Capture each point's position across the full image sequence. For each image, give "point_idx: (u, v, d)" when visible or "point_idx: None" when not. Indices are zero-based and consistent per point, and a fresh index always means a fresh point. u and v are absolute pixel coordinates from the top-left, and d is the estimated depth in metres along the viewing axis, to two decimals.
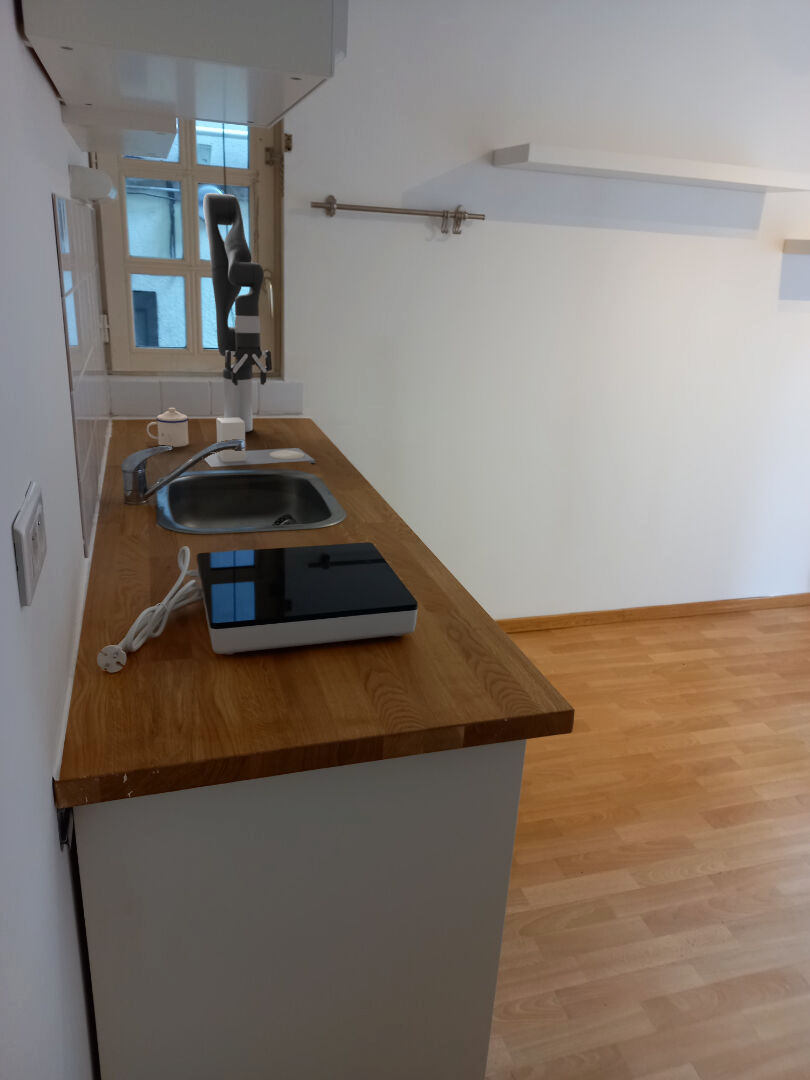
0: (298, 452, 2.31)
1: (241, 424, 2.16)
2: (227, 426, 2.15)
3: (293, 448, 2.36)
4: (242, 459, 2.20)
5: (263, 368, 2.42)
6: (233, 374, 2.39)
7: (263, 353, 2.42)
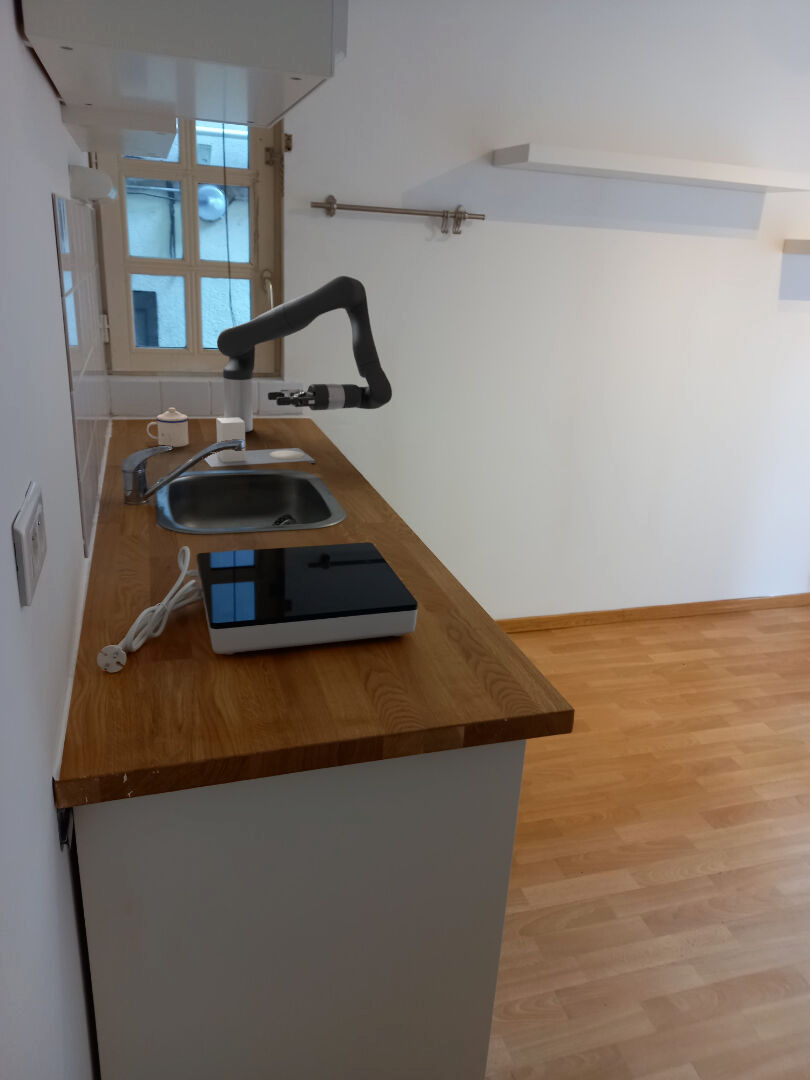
0: (298, 452, 2.31)
1: (241, 424, 2.16)
2: (227, 426, 2.15)
3: (293, 448, 2.36)
4: (242, 459, 2.20)
5: None
6: (289, 403, 2.18)
7: None
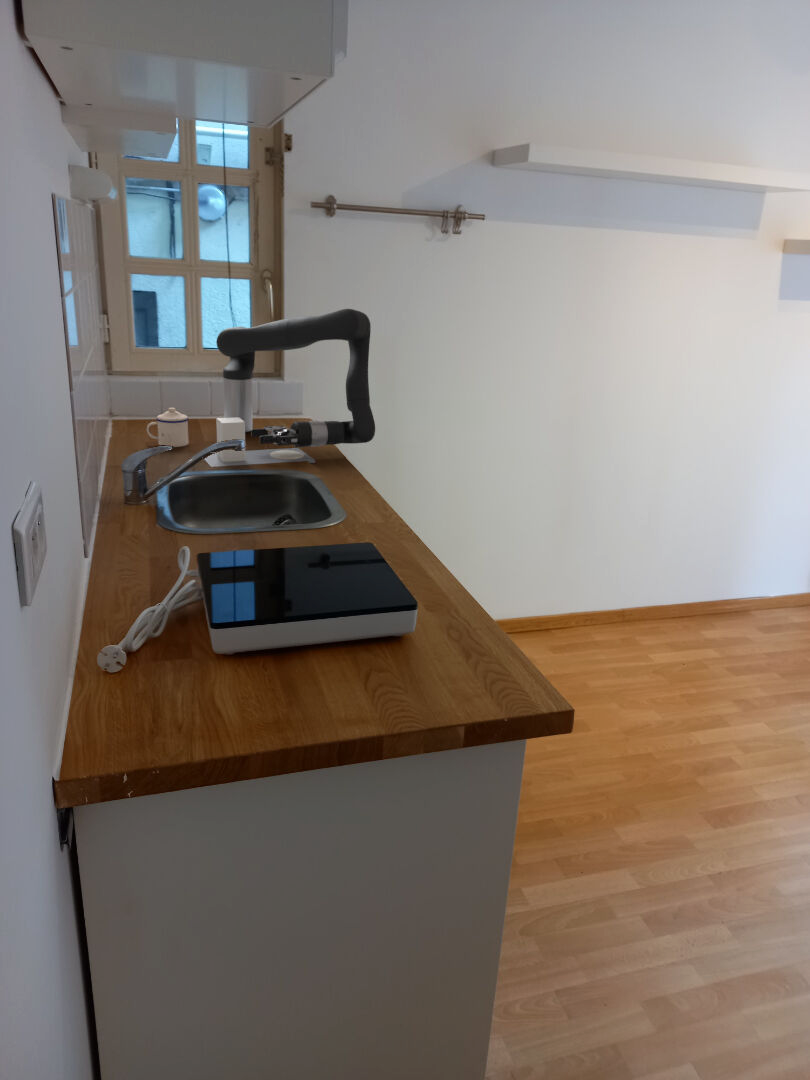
0: (298, 452, 2.31)
1: (241, 424, 2.16)
2: (227, 426, 2.15)
3: (293, 448, 2.36)
4: (242, 459, 2.20)
5: None
6: None
7: None
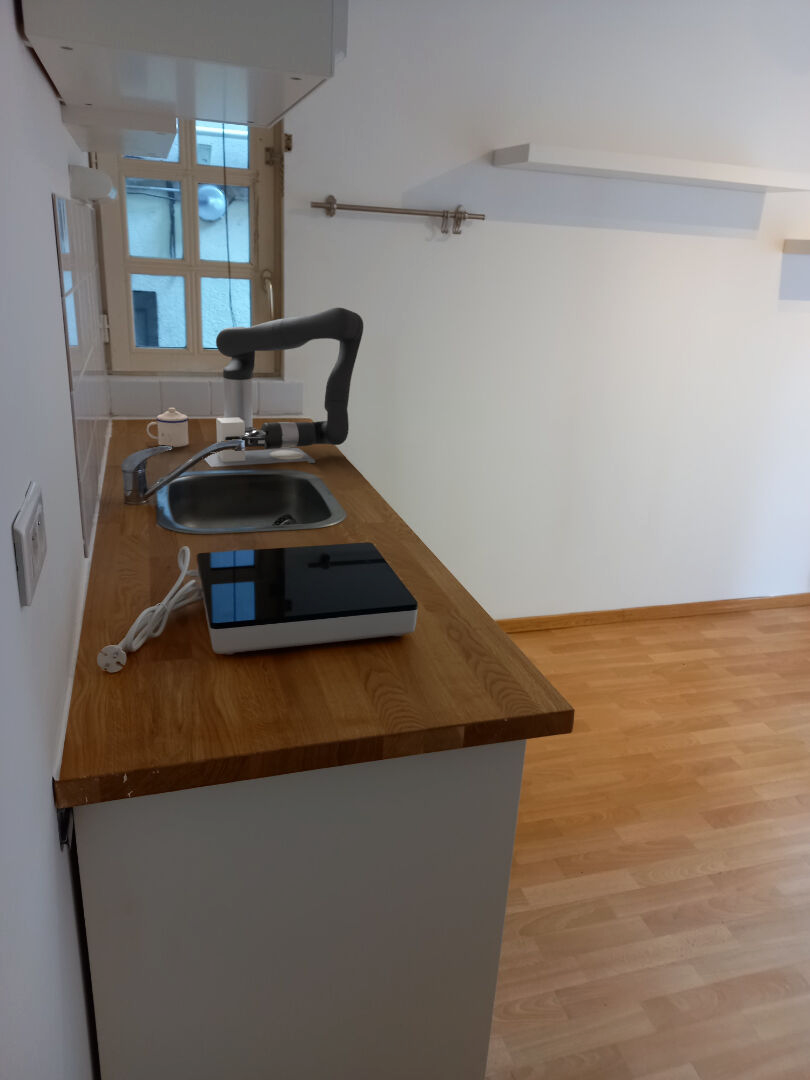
0: (298, 452, 2.31)
1: (241, 424, 2.16)
2: (227, 426, 2.15)
3: (293, 448, 2.36)
4: (242, 459, 2.20)
5: None
6: None
7: None
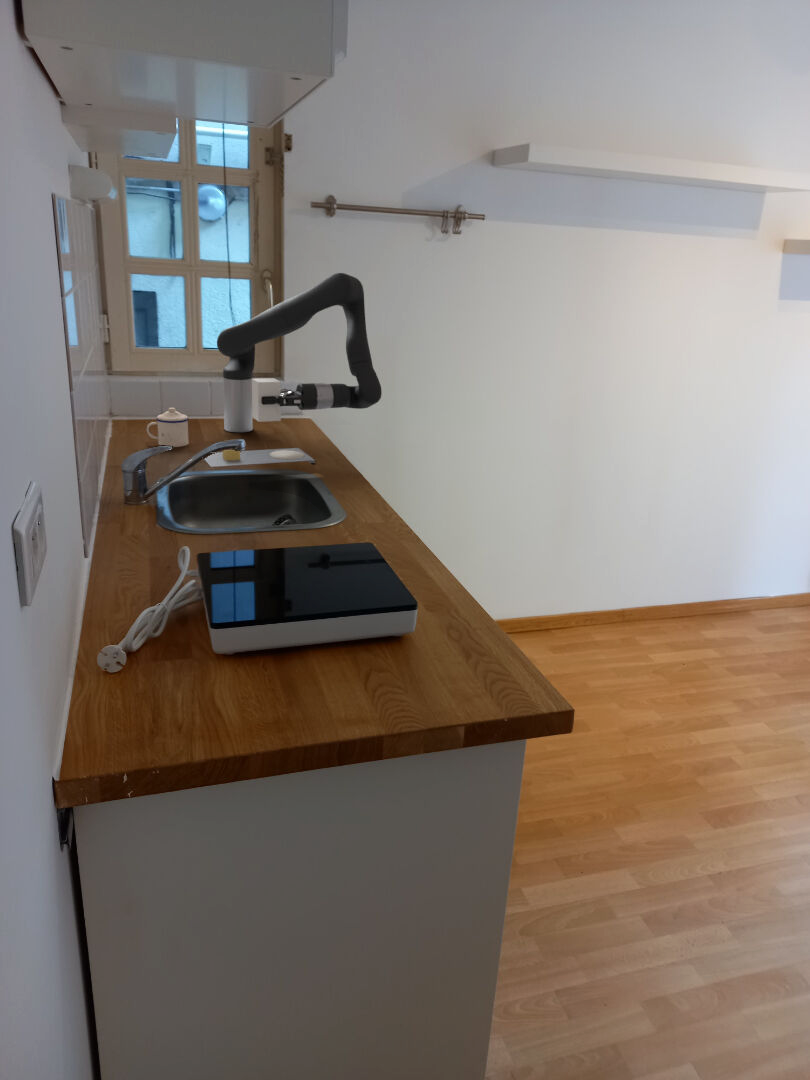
0: (298, 452, 2.31)
1: (277, 384, 2.17)
2: (263, 386, 2.15)
3: (293, 448, 2.36)
4: (278, 419, 2.20)
5: None
6: (274, 403, 2.17)
7: None
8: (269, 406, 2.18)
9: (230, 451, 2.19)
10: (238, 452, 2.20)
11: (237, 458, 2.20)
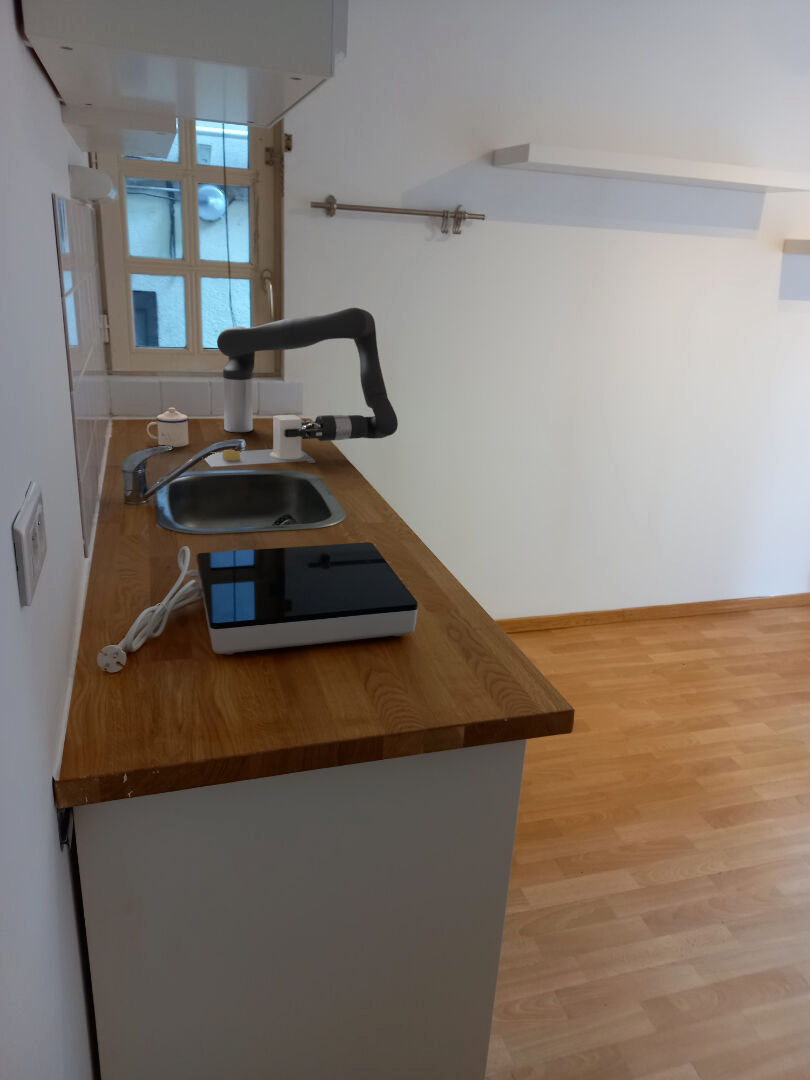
0: None
1: (298, 421, 2.23)
2: (285, 423, 2.22)
3: None
4: (298, 455, 2.27)
5: None
6: (296, 435, 2.23)
7: None
8: (290, 443, 2.24)
9: (230, 451, 2.19)
10: (238, 452, 2.20)
11: (237, 458, 2.20)
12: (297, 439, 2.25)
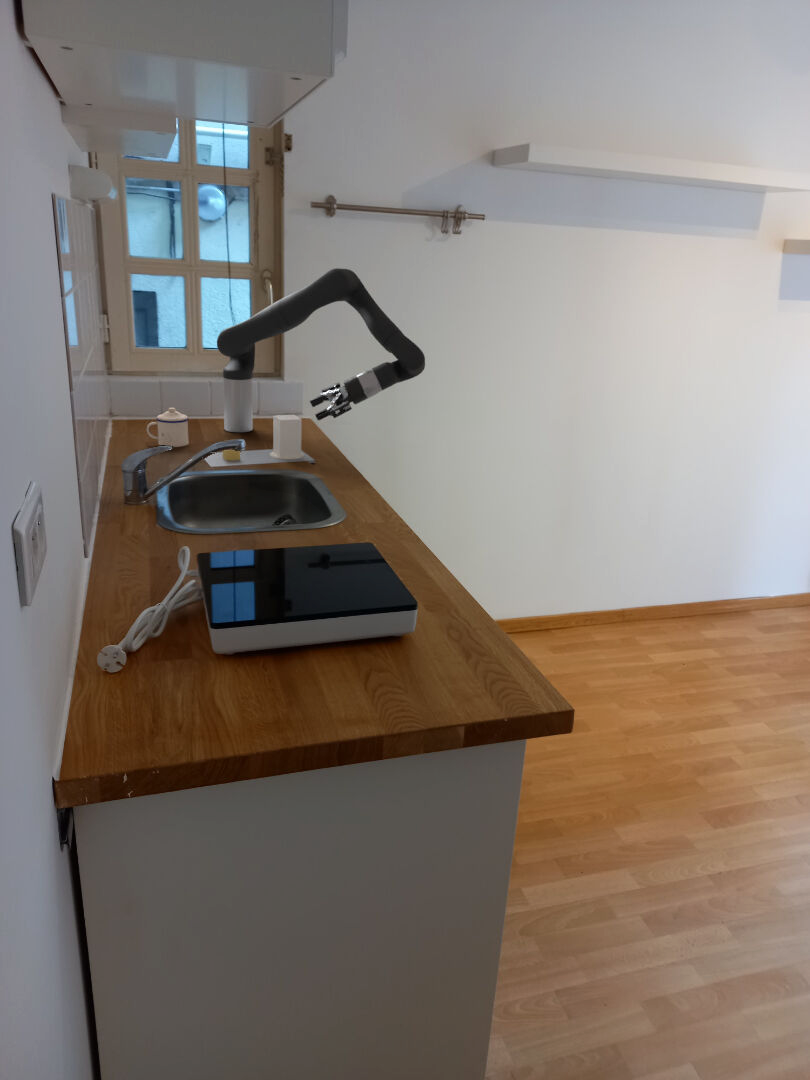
0: None
1: (298, 421, 2.23)
2: (285, 423, 2.22)
3: None
4: (298, 455, 2.27)
5: None
6: None
7: None
8: (290, 443, 2.24)
9: (230, 451, 2.19)
10: (238, 452, 2.20)
11: (237, 458, 2.20)
12: (297, 439, 2.25)
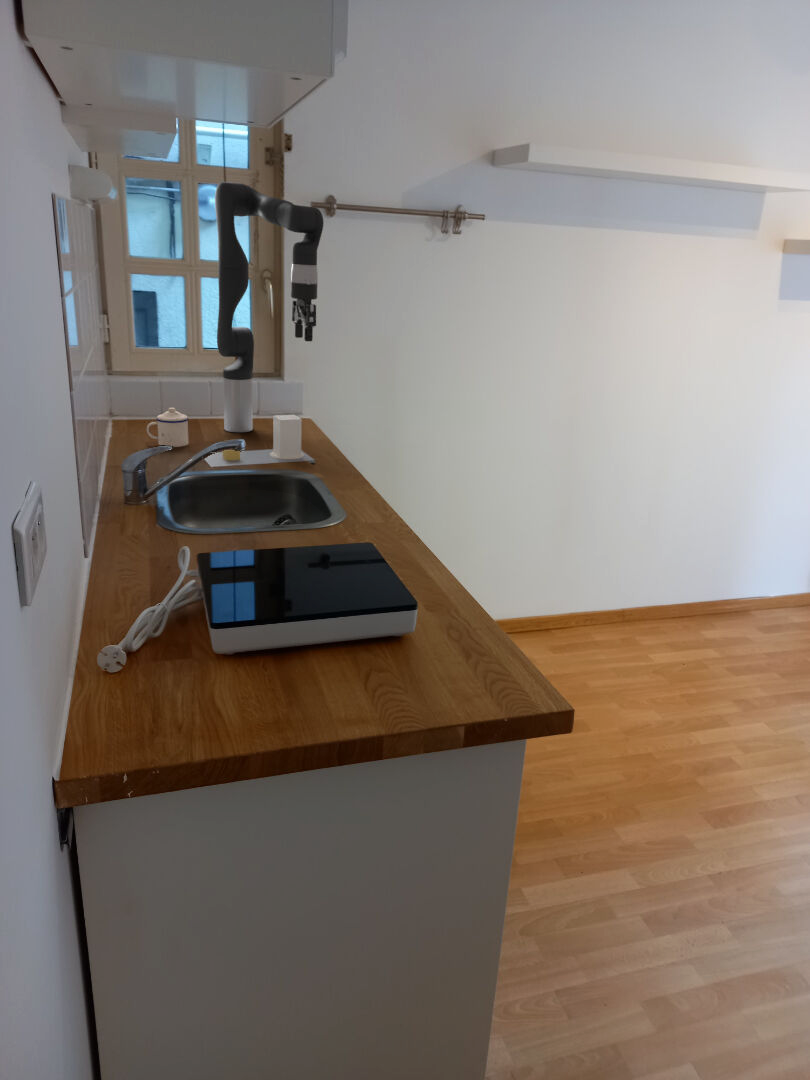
0: None
1: (298, 421, 2.23)
2: (285, 423, 2.22)
3: None
4: (298, 455, 2.27)
5: None
6: None
7: None
8: (290, 443, 2.24)
9: (230, 451, 2.19)
10: (238, 452, 2.20)
11: (237, 458, 2.20)
12: (297, 439, 2.25)
